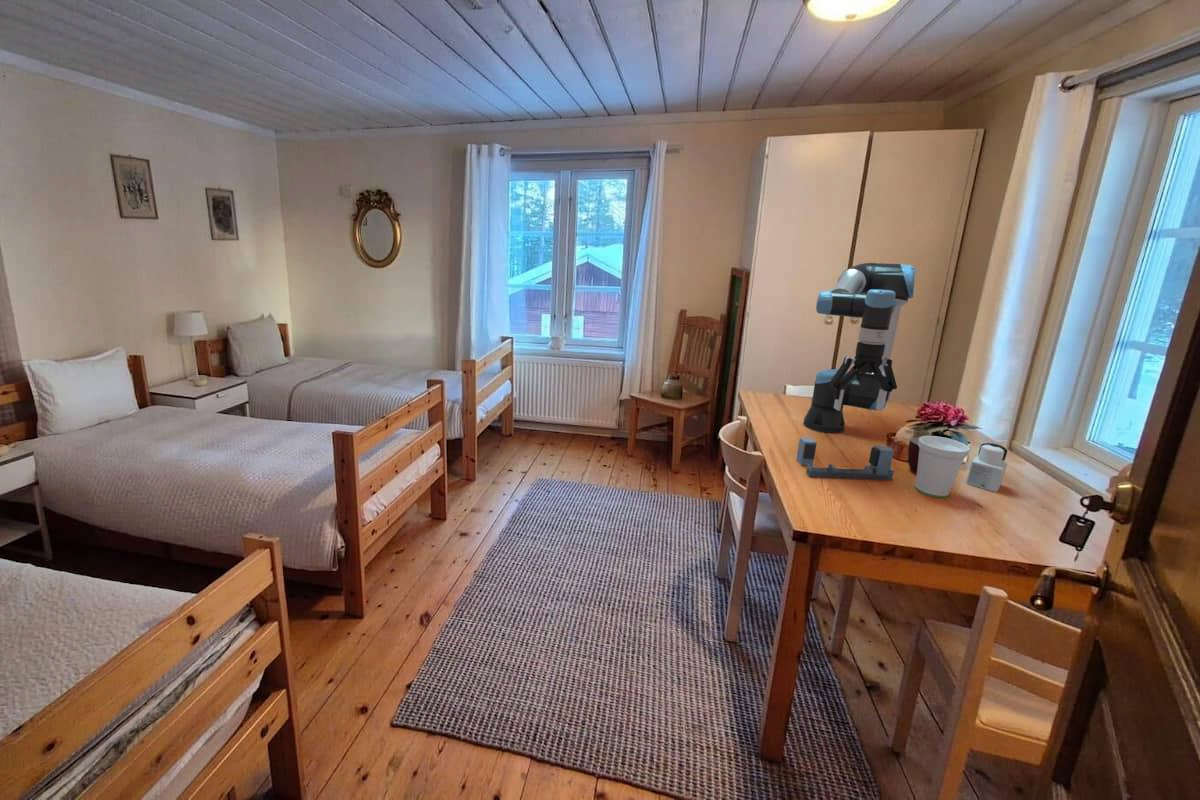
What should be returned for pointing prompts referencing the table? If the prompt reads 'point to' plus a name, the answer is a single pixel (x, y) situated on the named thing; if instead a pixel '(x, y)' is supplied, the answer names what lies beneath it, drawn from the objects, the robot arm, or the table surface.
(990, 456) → the container
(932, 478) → the cup
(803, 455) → the finger right
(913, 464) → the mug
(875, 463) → the rail
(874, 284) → the robot arm
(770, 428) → the table surface
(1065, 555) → the table surface
